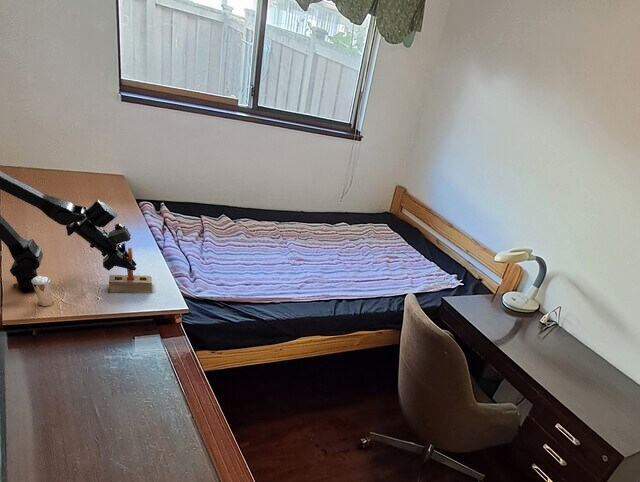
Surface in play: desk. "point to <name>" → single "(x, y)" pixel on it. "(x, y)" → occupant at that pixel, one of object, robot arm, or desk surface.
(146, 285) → the utensil rack
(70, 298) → the desk surface
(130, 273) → the orange piece
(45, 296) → the milkshake
